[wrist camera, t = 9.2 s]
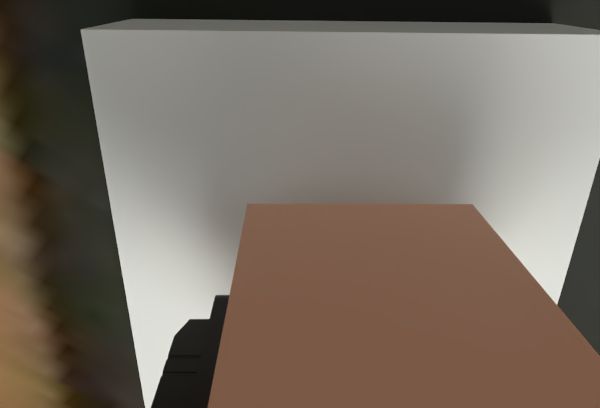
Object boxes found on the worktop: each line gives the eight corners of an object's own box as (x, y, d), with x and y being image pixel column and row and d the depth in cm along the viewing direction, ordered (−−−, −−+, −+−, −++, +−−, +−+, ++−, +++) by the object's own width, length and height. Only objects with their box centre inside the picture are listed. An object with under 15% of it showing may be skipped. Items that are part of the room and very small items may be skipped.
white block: (136, 18, 14) (80, 29, 10) (545, 22, 14) (635, 35, 10) (176, 343, 19) (148, 429, 15) (477, 342, 19) (522, 427, 15)
